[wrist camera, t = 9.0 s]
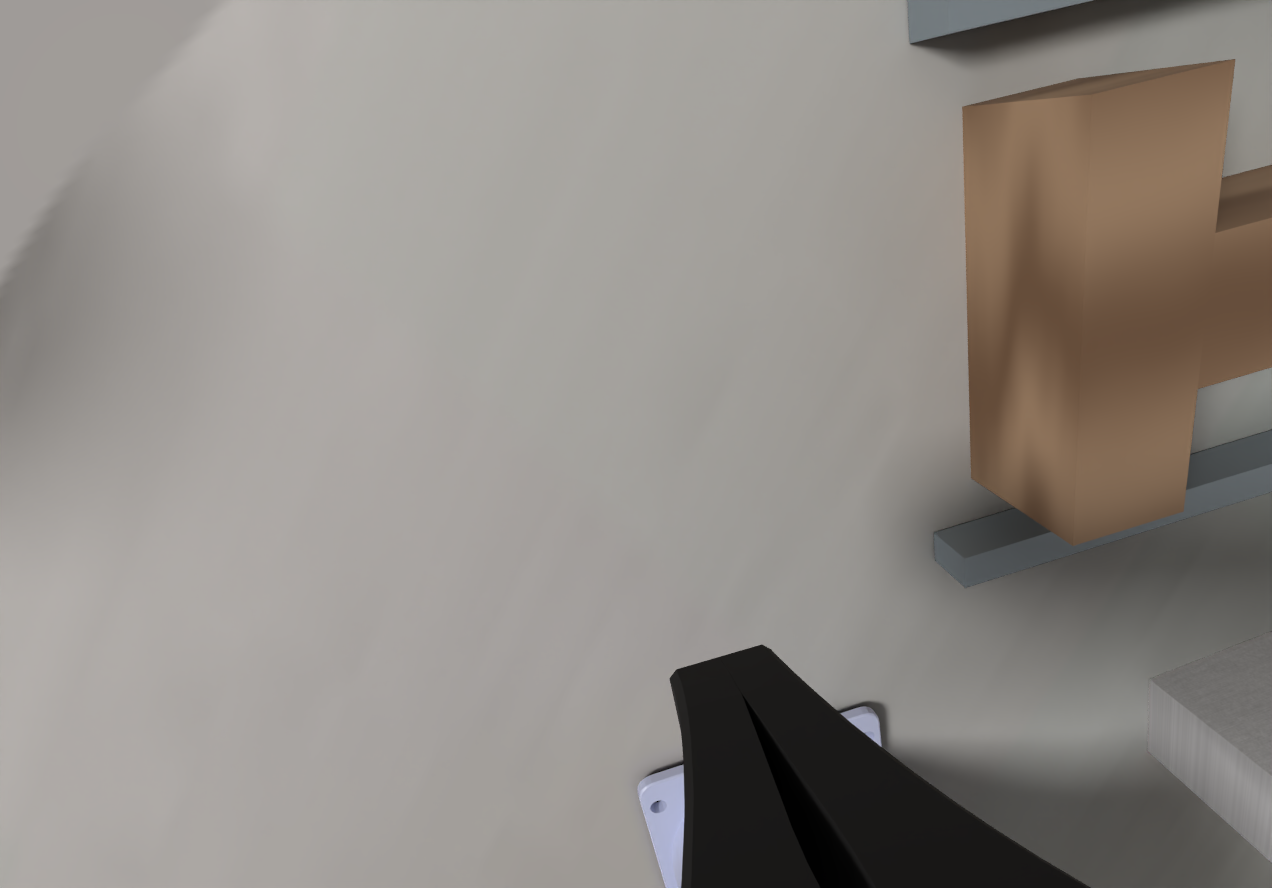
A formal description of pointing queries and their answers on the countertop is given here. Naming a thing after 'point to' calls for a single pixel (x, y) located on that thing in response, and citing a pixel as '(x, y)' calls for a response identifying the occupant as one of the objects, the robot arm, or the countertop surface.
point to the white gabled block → (1220, 734)
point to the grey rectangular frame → (1011, 536)
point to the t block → (1107, 289)
